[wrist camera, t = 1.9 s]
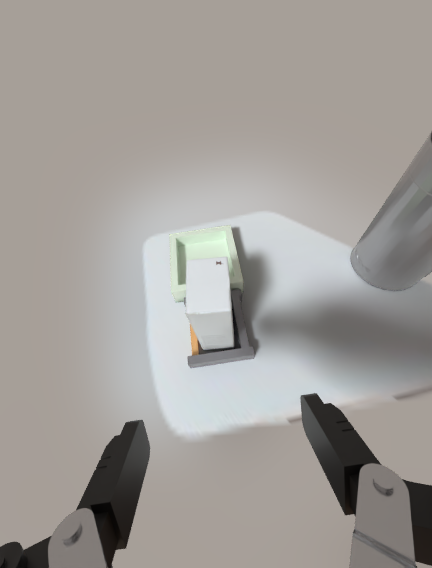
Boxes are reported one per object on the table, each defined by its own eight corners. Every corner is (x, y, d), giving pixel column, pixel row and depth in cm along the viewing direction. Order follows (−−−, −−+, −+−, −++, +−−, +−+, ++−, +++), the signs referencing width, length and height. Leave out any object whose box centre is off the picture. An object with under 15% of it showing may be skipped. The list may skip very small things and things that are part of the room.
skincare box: (201, 309, 33) (185, 257, 23) (231, 307, 33) (228, 254, 22) (202, 352, 30) (183, 314, 19) (235, 350, 29) (233, 310, 19)
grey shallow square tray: (240, 295, 34) (240, 288, 32) (253, 358, 29) (254, 354, 27) (186, 303, 33) (183, 297, 32) (190, 368, 29) (188, 364, 27)
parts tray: (230, 237, 40) (230, 224, 37) (243, 292, 34) (243, 281, 31) (173, 246, 40) (169, 234, 37) (176, 302, 34) (171, 292, 31)
